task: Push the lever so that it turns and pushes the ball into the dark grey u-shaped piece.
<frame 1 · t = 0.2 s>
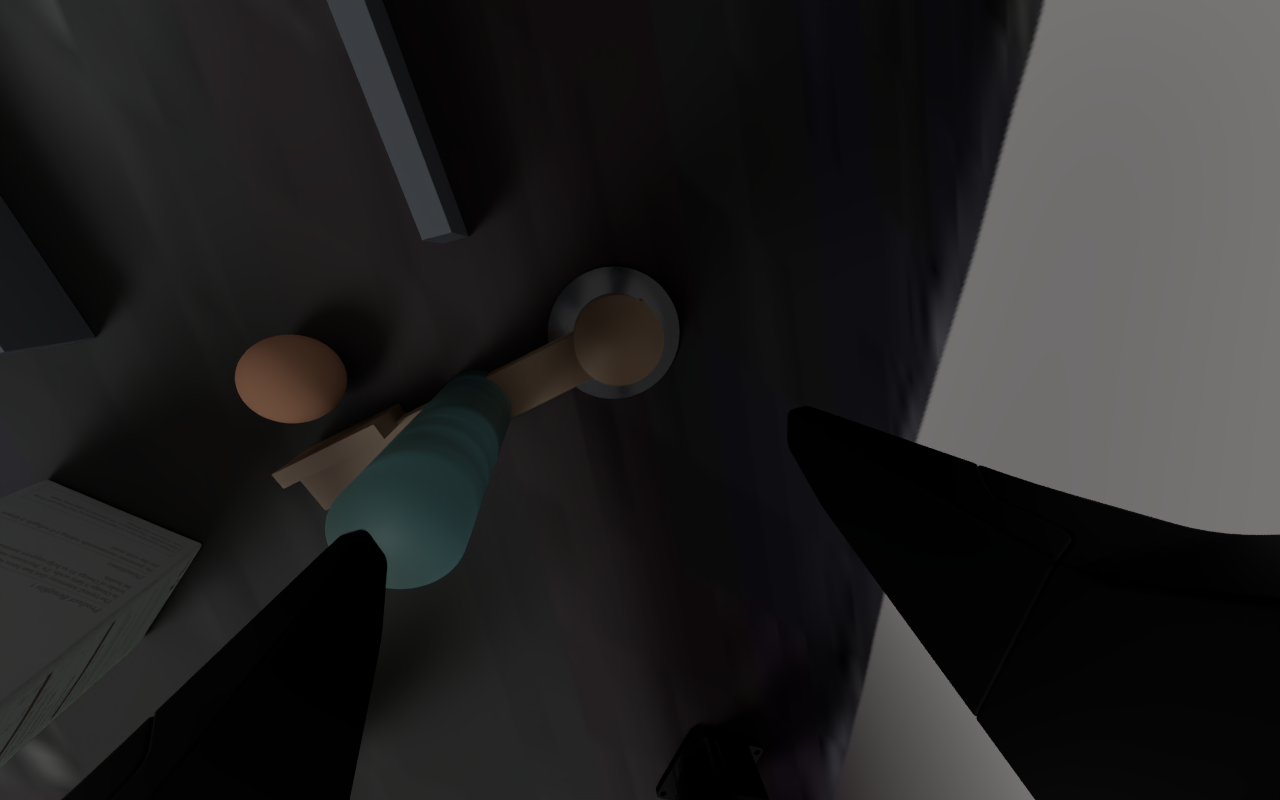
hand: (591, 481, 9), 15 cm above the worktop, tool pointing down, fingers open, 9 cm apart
supplement box: (104, 561, 23), on the worktop
pivot base: (614, 334, 24), on the worktop
ball: (294, 379, 20), point 2 cm above the worktop
lever: (465, 440, 18), point 6 cm above the worktop, hinge at 0.0°
dark grey u-shaped piece: (188, 122, 19), on the worktop
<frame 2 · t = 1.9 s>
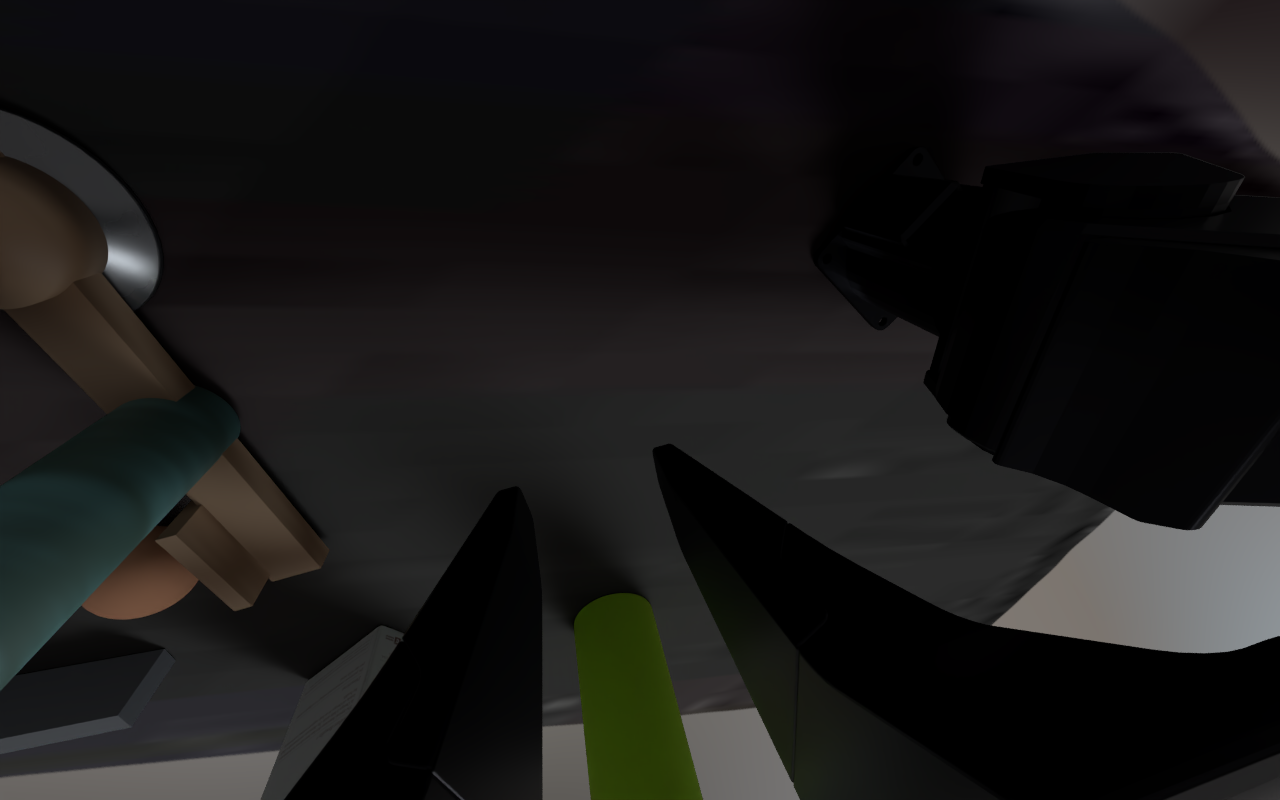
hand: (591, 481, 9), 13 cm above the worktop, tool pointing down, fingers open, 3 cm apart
supplement box: (393, 665, 31), on the worktop
pivot base: (30, 223, 15), on the worktop
ball: (143, 570, 21), point 2 cm above the worktop
lever: (54, 506, 14), point 6 cm above the worktop, hinge at 0.0°
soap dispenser: (606, 618, 33), on the worktop
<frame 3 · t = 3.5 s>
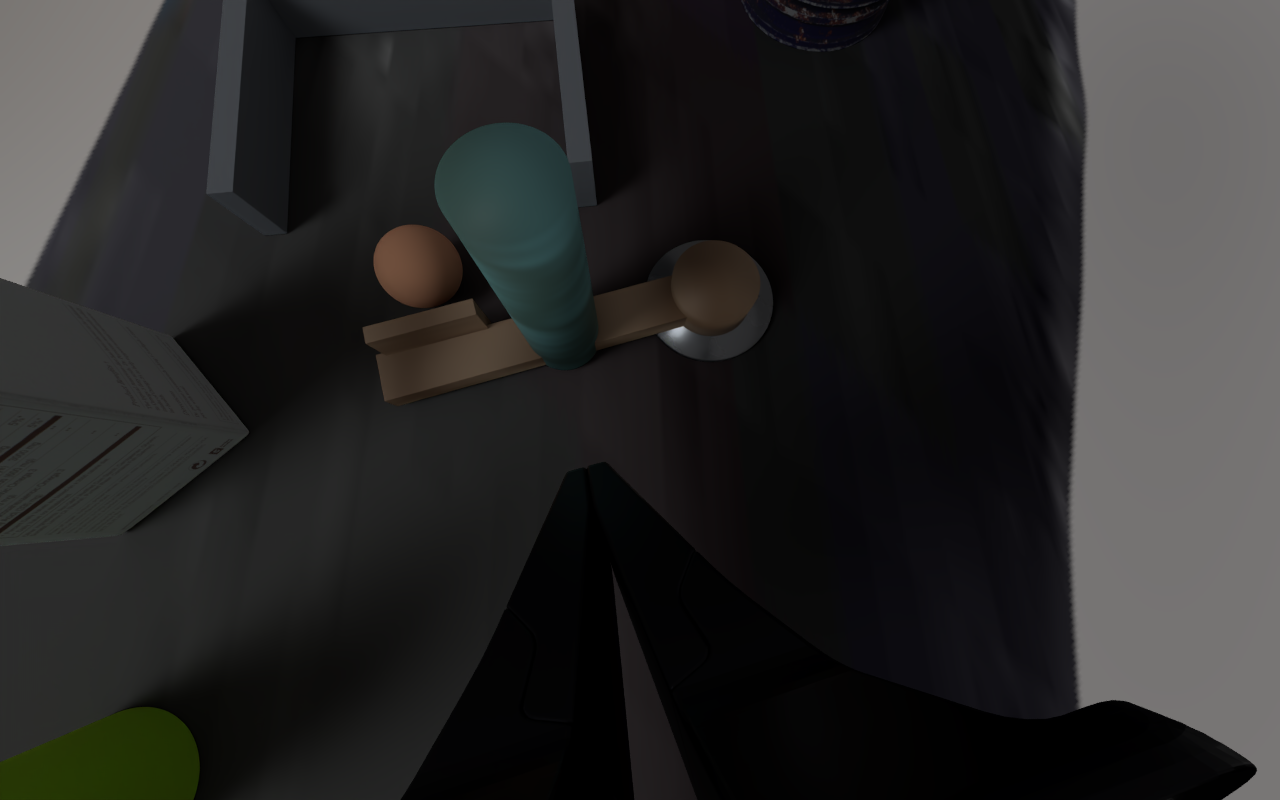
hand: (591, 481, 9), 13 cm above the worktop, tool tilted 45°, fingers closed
supplement box: (155, 433, 23), on the worktop
pivot base: (708, 300, 25), on the worktop
ball: (419, 267, 22), point 2 cm above the worktop
lever: (559, 281, 18), point 6 cm above the worktop, hinge at 0.0°
dark grey u-shaped piece: (430, 115, 27), on the worktop
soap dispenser: (134, 766, 20), on the worktop
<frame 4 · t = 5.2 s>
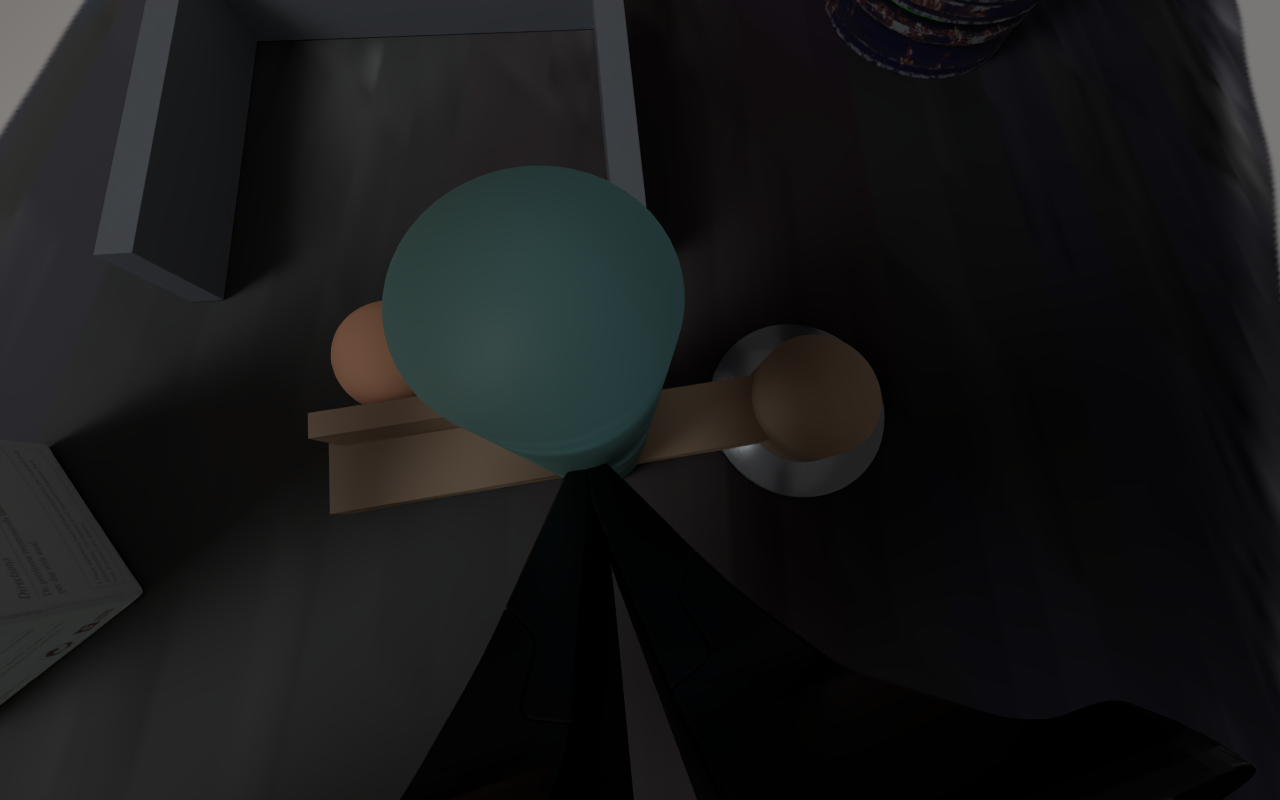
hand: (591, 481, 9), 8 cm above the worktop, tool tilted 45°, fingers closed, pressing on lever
supplement box: (8, 587, 16), on the worktop
pivot base: (794, 408, 18), on the worktop
storage jar: (912, 8, 24), on the worktop
ball: (399, 357, 16), point 2 cm above the worktop
lever: (605, 401, 11), point 6 cm above the worktop, hinge at -5.6°, touching gripper
dark grey u-shaped piece: (426, 145, 20), on the worktop
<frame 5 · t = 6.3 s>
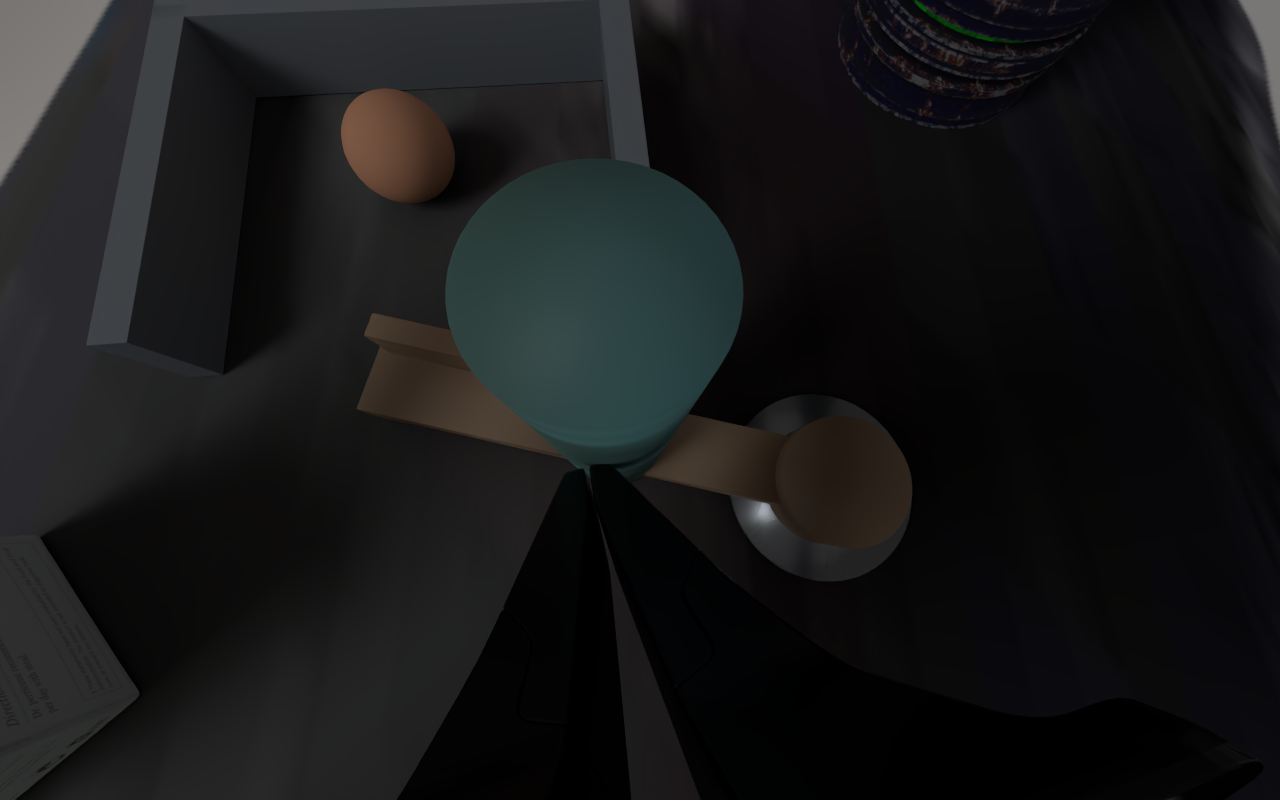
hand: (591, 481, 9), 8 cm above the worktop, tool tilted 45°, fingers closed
pivot base: (817, 483, 17), on the worktop
storage jar: (929, 54, 23), on the worktop
ball: (401, 149, 18), point 2 cm above the worktop, tilted 17°
lever: (633, 405, 11), point 6 cm above the worktop, hinge at -28.1°, touching gripper
dark grey u-shaped piece: (432, 206, 20), on the worktop
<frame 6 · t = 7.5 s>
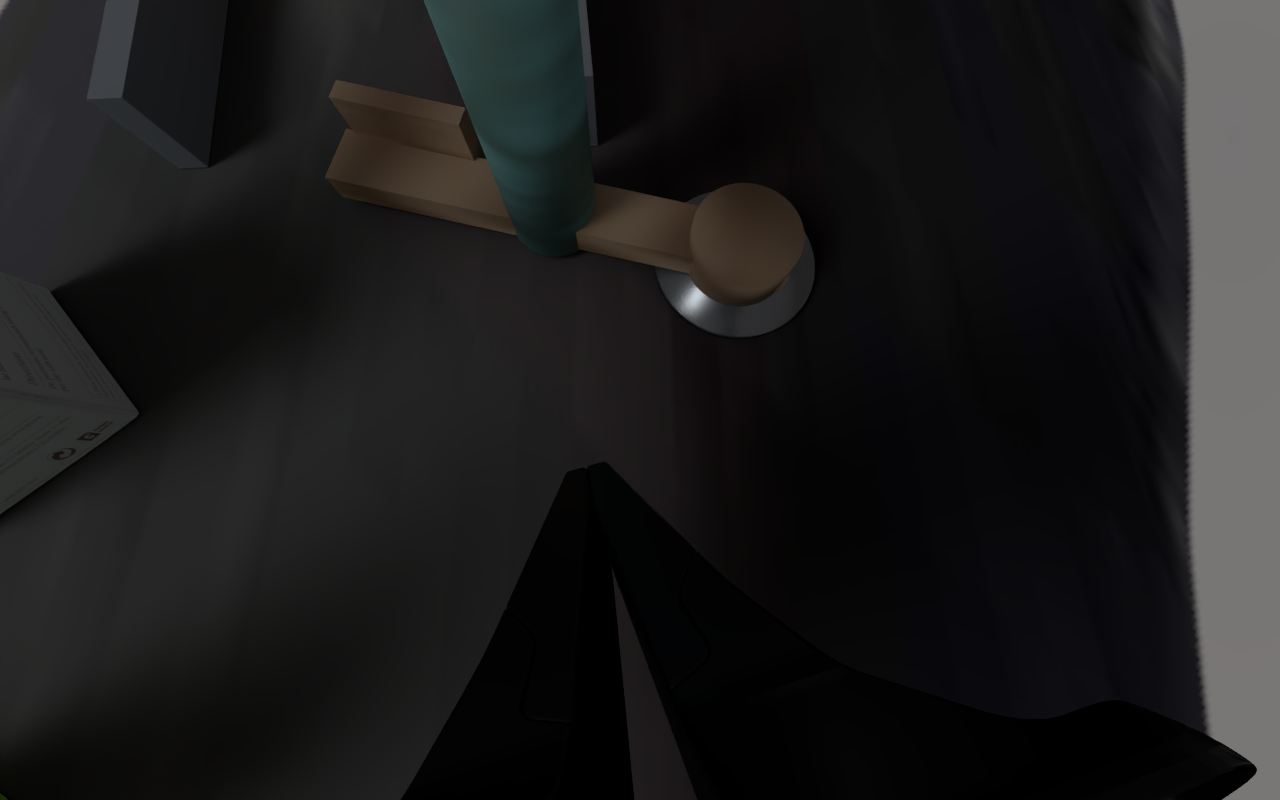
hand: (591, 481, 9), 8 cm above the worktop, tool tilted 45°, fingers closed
supplement box: (16, 412, 17), on the worktop
pivot base: (733, 263, 20), on the worktop
lever: (546, 104, 14), point 6 cm above the worktop, hinge at -28.2°
dark grey u-shaped piece: (396, 33, 22), on the worktop
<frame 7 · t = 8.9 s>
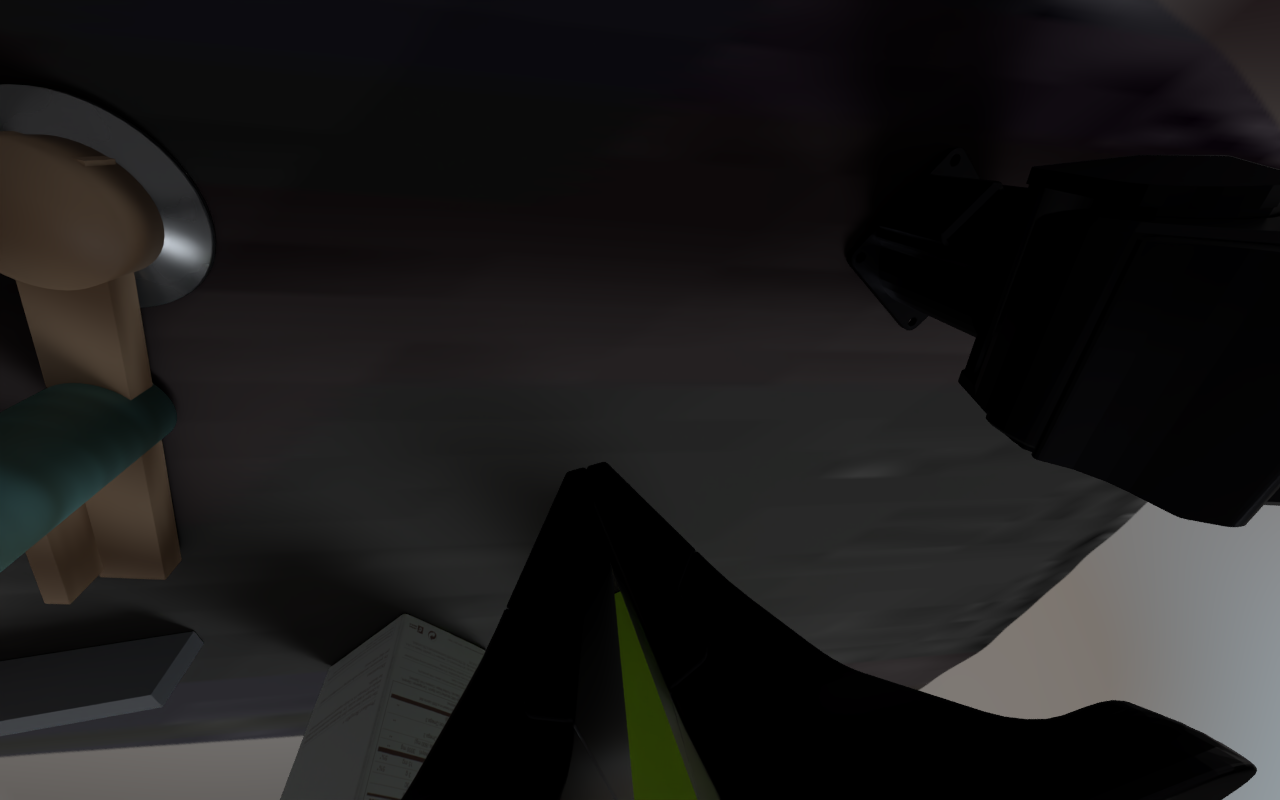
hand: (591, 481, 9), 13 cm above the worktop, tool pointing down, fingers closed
supplement box: (413, 654, 31), on the worktop
pivot base: (91, 207, 16), on the worktop
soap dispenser: (624, 612, 34), on the worktop
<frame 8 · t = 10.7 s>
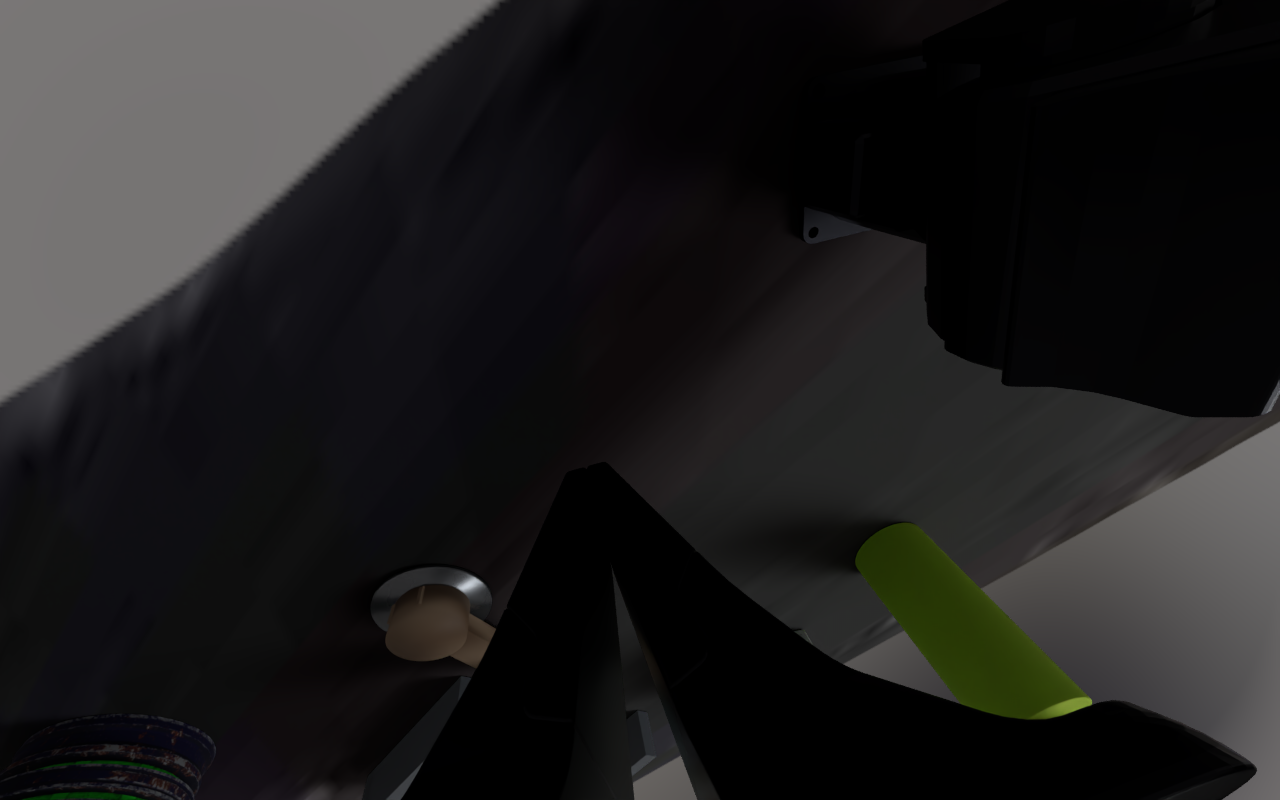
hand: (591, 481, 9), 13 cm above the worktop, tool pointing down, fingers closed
pivot base: (434, 602, 28), on the worktop
storage jar: (126, 751, 29), on the worktop
lever: (509, 748, 27), point 6 cm above the worktop, hinge at -28.2°
dark grey u-shaped piece: (517, 740, 39), on the worktop
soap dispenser: (881, 551, 37), on the worktop
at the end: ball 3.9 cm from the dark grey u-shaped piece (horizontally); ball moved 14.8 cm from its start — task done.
